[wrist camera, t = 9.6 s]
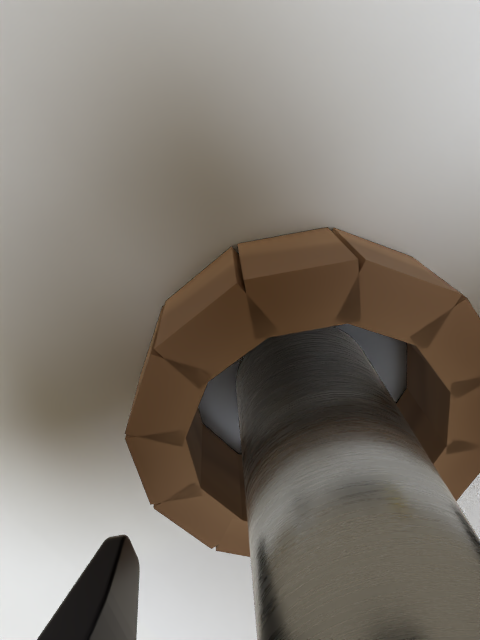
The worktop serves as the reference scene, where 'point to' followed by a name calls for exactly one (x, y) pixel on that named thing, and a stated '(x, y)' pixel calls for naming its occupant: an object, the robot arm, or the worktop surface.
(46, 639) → the robot arm
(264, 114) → the worktop surface
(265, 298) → the brown segmented ring
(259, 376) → the grey metal peg
